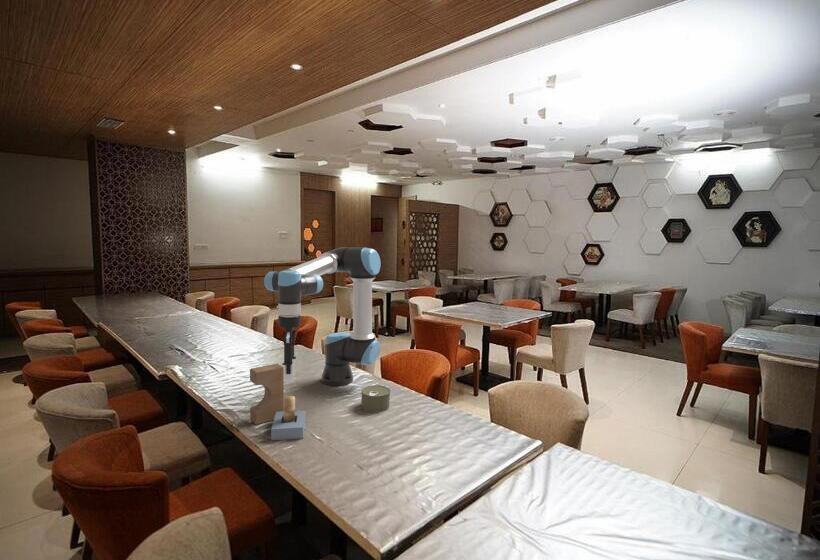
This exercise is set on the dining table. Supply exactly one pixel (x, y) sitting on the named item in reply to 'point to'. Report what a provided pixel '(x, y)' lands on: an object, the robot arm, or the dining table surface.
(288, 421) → the peg
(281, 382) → the decorative block
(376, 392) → the can
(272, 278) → the robot arm
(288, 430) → the board
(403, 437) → the dining table surface
